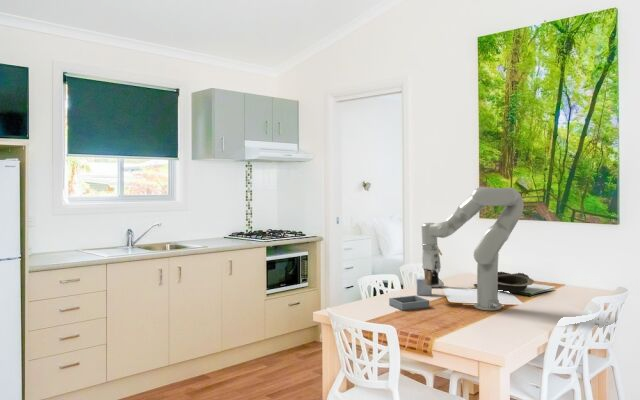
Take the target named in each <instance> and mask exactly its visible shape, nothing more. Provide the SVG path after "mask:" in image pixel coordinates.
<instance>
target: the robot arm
mask: <svg viewBox="0 0 640 400" xmlns="http://www.w3.org/2000/svg"><path fill="white" fill-rule="evenodd" d="M486 206H489V207H504V208H503V209H502V211H501V212H500V214H499V216H498V218H497V219H496V220H495V222H494V223H493V225H491V226H489V227H488V229H486V231H485V233H484V234H483V236H482V238H481V239H480V240H479V243H477V245H476V247H475V249H474V251H473V258H474V261H475V262H476V263H477V267H476V274H477V275H476V289H477V290H476V295H477V296H476V297H477V298H476V299H477V300H476V303H474V304H473V307H474V308H475V309H477V310H481V311H498V310H501V309H502V306H503V305H502V303H500V300H499V293H498V272H499V271H498V269H499V252H500V250H501V249H502V247H503V246H504V244H505V243H506V242H507V241H508V239H509V238H510V236H511V233H513V230H514V229H515V227H516V225H517V223H519V220H520V219H521V217H522V215H523V212H524V207H525V206H524V199H523V197H522V195H521V193H520V192H519V191H518V190H517V189H516V188H514V187H487V186H480V187H477V188H475V189H474V190H473V192H472V193H471V194H470V196H468V197H467V198H466V199H465V200H463V202H461V203H460V204H458V206H457V208H456V210H455V212H453V213H452V214H451V215H450V216H449V217H448V218H447V219H446V220H445V221H442V222H439V223H435V222H424V223H422V224H421V242H422V243H421V244H422V259H421V260H422V261H421V262H422V269H423V270H424V271H427V270H431V271H432V284H438V277H439V273H440V272H441V257H440V253H439V252H438V248H439V246H438V238H442V239H444V238H448V237H449V236H452V235H453V234H454V233H456V232H457V231H458V230H459V229H460V228H462V227H463V226H464V225H465V224H466V223H467V222H469V220H471V219H472V218H473V217H475V216H476V215H477V214H478V213H479V212H480V211H481V210H483V209H484V208H486ZM434 269H435V270H434ZM424 271H423V272H424ZM434 271H435V272H434Z"/></svg>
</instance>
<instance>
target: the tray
mask: <svg viewBox="0 0 640 400" xmlns="http://www.w3.org/2000/svg"><path fill="white" fill-rule="evenodd" d="M388 299H389V302H388V303H389V305H388V306H390V307H393V308H395V309H397V310H400V311H401V310H402V311H401V312H405V311H404V310H406V311H413V310H414V309H415V310H421V309H430V300H429V299H425V298H423V297H421V296H419V295H417V294H416V295H407V296H396V297H389V298H388Z"/></svg>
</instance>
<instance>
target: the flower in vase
mask: <svg viewBox="0 0 640 400" xmlns="http://www.w3.org/2000/svg"><path fill="white" fill-rule="evenodd" d="M438 252H439V256H443V253H442V252H441V249H440V248H439V247H438ZM434 270H435V269H434ZM444 285H445V283H444V282H443V281H442V279H440V278H439V285H433V286H432V288H441V287H443V286H444Z"/></svg>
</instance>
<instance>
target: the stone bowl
mask: <svg viewBox="0 0 640 400" xmlns="http://www.w3.org/2000/svg"><path fill="white" fill-rule="evenodd" d="M534 283H535V281H534V279H532V278H530V276H529V275H528V274H525V273H523V272H518V273H517V272H516V273H511V272H510V273H509V272H505V271H498V290H503V291H509V292H510V294H520V293H521V292H525V291H526V289H527V288H528V286H532V285H533V284H534Z"/></svg>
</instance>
